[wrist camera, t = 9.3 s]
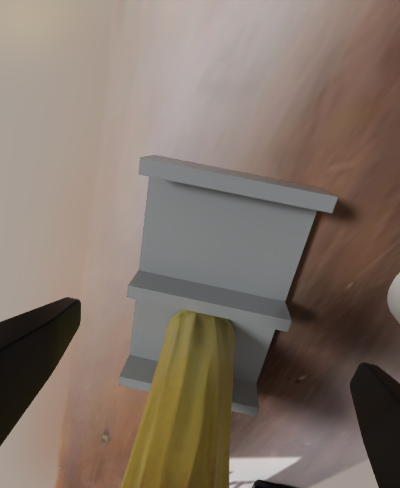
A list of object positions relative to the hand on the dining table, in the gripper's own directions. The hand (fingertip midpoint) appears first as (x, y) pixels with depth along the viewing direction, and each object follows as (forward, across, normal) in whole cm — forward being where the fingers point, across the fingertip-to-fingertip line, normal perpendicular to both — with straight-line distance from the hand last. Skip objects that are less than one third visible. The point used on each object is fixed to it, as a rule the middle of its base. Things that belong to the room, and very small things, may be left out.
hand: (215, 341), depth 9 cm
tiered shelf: (+13, 0, +6) cm, 14 cm away
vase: (+12, 0, +10) cm, 16 cm away
